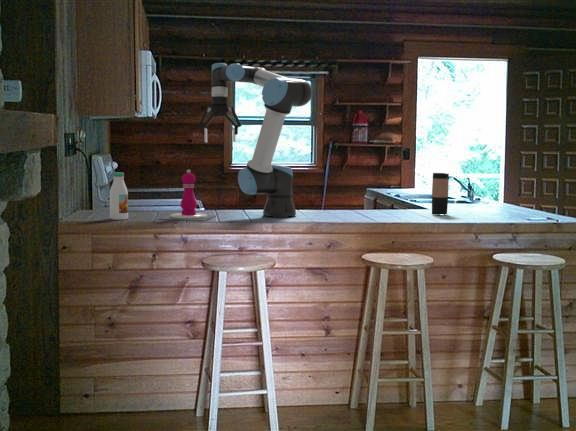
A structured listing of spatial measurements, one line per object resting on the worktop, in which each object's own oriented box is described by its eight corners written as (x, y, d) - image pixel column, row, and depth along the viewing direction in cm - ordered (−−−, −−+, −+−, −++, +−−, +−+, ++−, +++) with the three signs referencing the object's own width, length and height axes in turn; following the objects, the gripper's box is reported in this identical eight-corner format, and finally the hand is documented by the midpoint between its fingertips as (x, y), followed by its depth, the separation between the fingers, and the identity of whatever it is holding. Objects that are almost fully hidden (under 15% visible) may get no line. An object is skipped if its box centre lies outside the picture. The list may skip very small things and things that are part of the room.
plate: (211, 215, 323) (211, 213, 323) (200, 219, 307) (200, 217, 307) (177, 214, 326) (177, 212, 326) (165, 218, 310) (165, 216, 310)
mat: (216, 216, 325) (216, 215, 325) (204, 221, 305) (204, 220, 305) (174, 215, 328) (174, 214, 328) (159, 219, 309) (159, 218, 309)
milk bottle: (112, 220, 303) (111, 173, 301) (107, 218, 310) (107, 172, 308) (130, 219, 307) (129, 172, 305) (125, 217, 314) (125, 172, 312)
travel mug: (429, 215, 345) (431, 173, 343) (432, 213, 352) (434, 172, 350) (445, 215, 342) (447, 173, 340) (448, 214, 349) (450, 173, 347)
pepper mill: (193, 215, 312) (193, 169, 310) (178, 215, 314) (177, 169, 312) (199, 214, 319) (199, 169, 317) (183, 213, 321) (183, 168, 319)
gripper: (247, 97, 340) (247, 142, 340) (195, 98, 343) (196, 143, 343) (244, 94, 333) (244, 140, 333) (191, 96, 335) (192, 141, 336)
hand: (220, 142), depth 338 cm, fingers open, 13 cm apart
